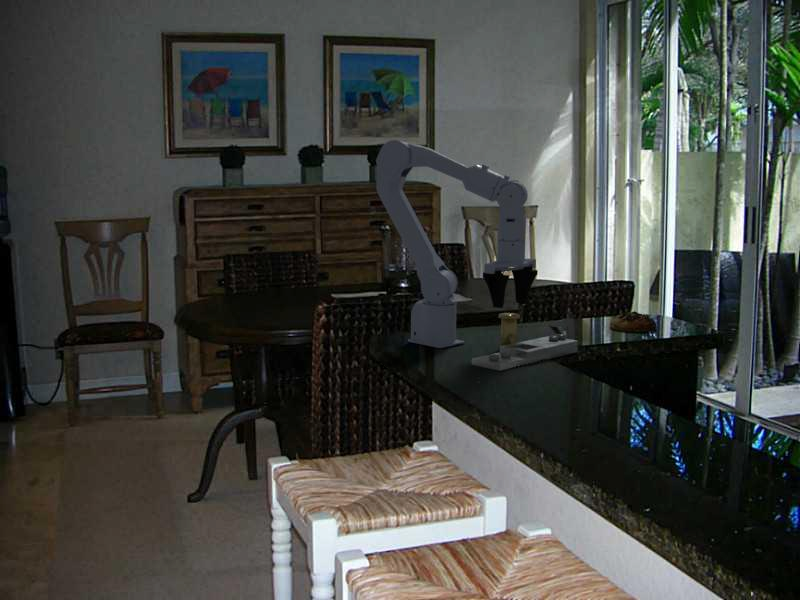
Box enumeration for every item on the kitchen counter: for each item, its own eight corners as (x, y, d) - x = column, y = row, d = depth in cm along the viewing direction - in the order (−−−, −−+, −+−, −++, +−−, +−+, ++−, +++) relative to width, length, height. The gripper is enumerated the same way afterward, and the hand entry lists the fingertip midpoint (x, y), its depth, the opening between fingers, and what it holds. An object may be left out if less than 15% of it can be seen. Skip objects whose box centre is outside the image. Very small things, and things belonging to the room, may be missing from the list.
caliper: (573, 343, 206) (574, 314, 205) (568, 343, 206) (569, 314, 205) (553, 325, 226) (554, 299, 225) (548, 325, 226) (549, 299, 225)
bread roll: (667, 331, 219) (665, 309, 218) (627, 340, 215) (625, 319, 214) (637, 324, 229) (635, 304, 228) (599, 334, 225) (597, 313, 224)
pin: (493, 347, 199) (494, 314, 198) (506, 344, 202) (507, 312, 201) (509, 350, 196) (510, 317, 195) (523, 347, 199) (524, 314, 198)
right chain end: (499, 358, 188) (499, 342, 188) (549, 346, 200) (550, 332, 199) (527, 364, 183) (528, 347, 183) (577, 352, 195) (578, 336, 194)
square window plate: (471, 364, 182) (471, 354, 182) (522, 353, 193) (522, 343, 193) (499, 370, 177) (500, 360, 177) (549, 358, 188) (550, 348, 188)
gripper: (504, 243, 187) (502, 311, 189) (548, 239, 197) (546, 303, 200) (477, 241, 192) (475, 307, 194) (521, 237, 202) (519, 299, 204)
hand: (509, 305), depth 197 cm, fingers open, 7 cm apart
